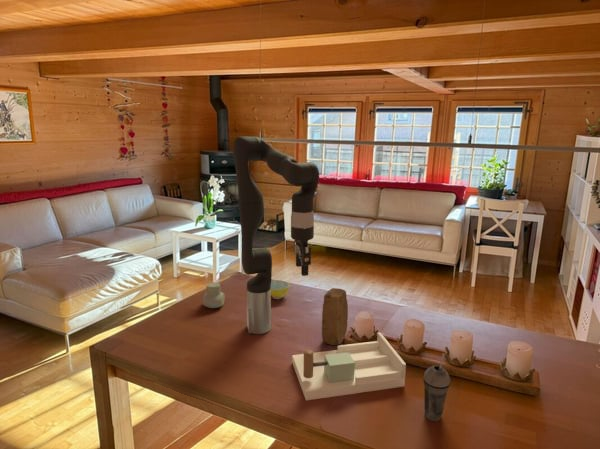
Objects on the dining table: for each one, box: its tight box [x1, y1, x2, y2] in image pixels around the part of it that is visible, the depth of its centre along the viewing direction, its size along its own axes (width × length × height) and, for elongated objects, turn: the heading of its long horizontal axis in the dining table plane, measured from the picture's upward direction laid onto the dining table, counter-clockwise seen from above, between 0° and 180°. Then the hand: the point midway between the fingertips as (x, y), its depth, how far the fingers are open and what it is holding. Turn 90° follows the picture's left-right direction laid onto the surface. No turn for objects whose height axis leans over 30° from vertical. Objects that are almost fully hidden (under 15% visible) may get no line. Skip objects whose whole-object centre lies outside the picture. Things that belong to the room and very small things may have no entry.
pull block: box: [303, 349, 355, 383], centre depth 131 cm, size 16×6×10 cm, turn 103°
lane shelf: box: [291, 332, 407, 401], centre depth 138 cm, size 32×20×8 cm, turn 103°
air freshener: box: [202, 281, 226, 309], centre depth 186 cm, size 11×8×10 cm
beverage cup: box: [422, 352, 451, 422], centre depth 118 cm, size 7×7×20 cm
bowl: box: [271, 279, 290, 300], centre depth 196 cm, size 11×12×6 cm
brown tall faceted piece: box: [321, 287, 349, 346], centre depth 158 cm, size 11×8×20 cm
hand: (301, 270), depth 141 cm, fingers open, 8 cm apart
